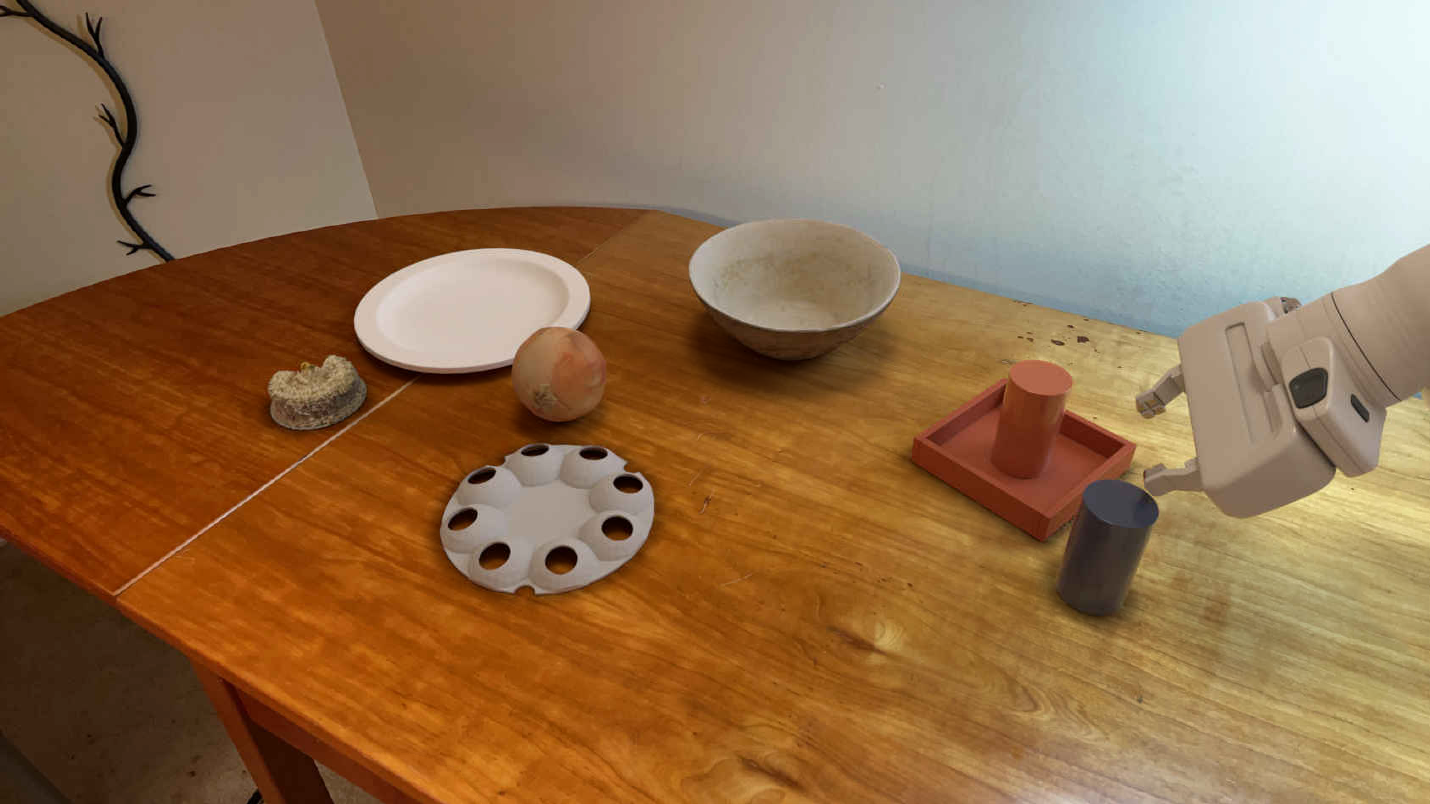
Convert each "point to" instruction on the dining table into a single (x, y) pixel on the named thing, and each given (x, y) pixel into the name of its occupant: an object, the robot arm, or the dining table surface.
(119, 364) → the dining table surface
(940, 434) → the rust tray
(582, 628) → the dining table surface
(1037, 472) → the terracotta canister
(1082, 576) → the slate-blue canister
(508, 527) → the grey disc with holes
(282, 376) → the cake
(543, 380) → the onion
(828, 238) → the bowl
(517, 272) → the plate
